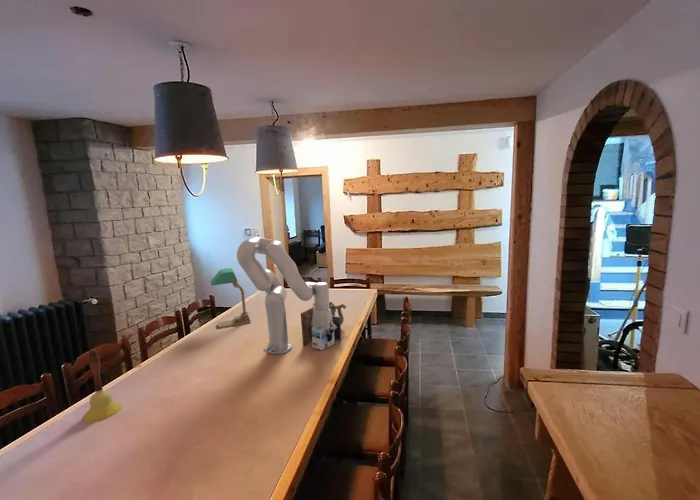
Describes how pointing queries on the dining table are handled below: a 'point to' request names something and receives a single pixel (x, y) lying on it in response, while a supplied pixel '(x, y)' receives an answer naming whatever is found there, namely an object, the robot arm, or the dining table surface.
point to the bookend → (338, 330)
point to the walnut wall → (306, 326)
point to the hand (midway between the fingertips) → (323, 339)
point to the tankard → (333, 310)
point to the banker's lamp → (229, 277)
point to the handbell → (99, 394)
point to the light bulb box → (321, 338)
